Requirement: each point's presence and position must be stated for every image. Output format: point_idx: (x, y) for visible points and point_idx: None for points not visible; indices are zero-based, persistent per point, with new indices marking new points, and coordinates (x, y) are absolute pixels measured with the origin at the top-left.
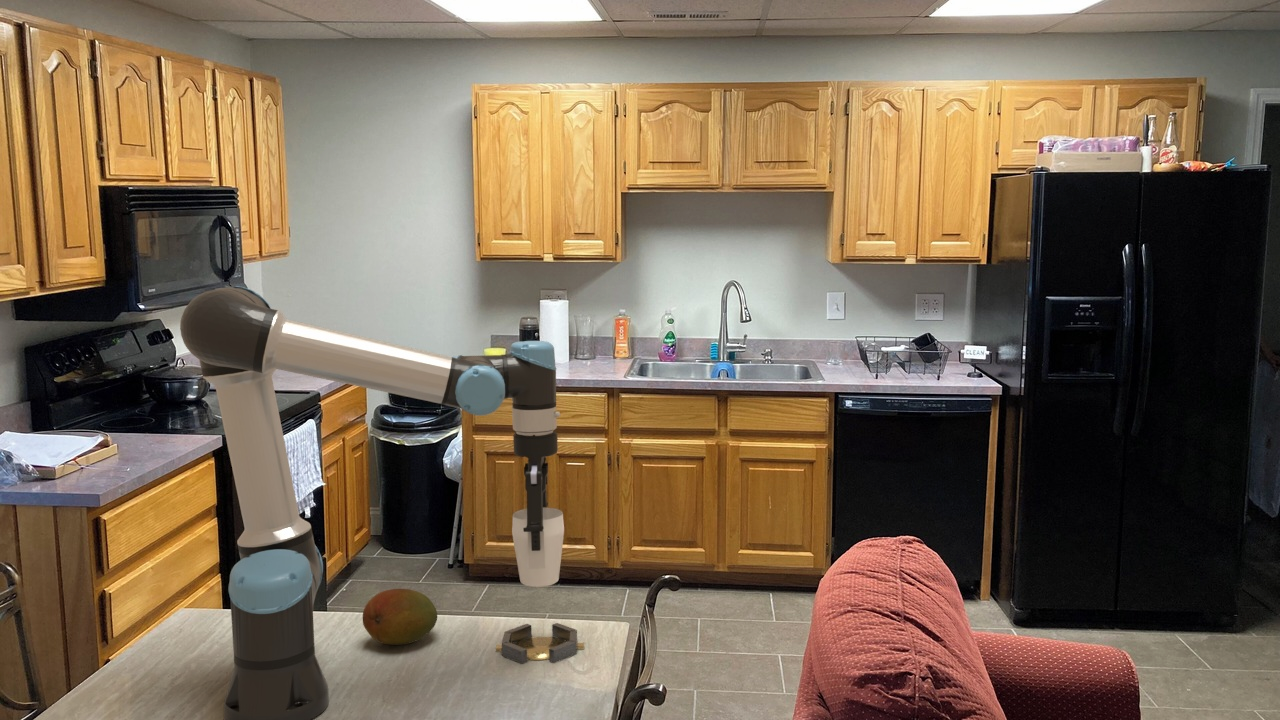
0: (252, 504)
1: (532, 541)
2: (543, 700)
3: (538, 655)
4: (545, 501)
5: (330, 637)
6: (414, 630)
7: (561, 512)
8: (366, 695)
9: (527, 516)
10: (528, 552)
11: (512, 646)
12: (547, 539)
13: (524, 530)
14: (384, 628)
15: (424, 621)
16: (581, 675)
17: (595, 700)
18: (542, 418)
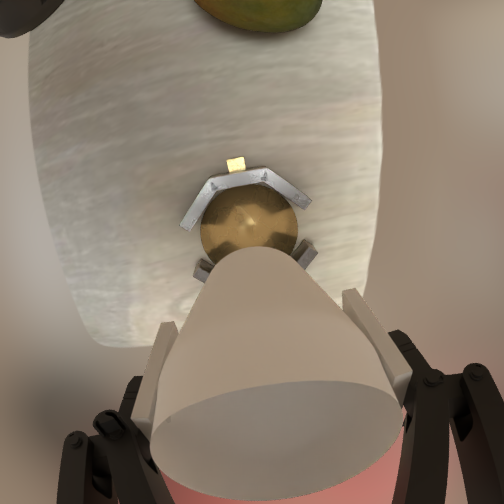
0: None
1: (124, 404)
2: (85, 279)
3: (215, 238)
4: (399, 468)
5: None
6: (209, 13)
7: (323, 484)
8: (58, 46)
9: (61, 478)
10: (149, 357)
11: (197, 203)
12: (190, 426)
13: (99, 418)
14: None
15: (227, 19)
16: (164, 310)
17: (106, 333)
18: None
